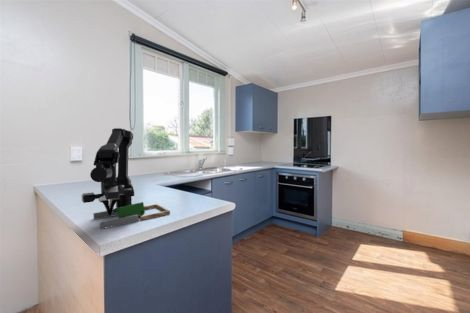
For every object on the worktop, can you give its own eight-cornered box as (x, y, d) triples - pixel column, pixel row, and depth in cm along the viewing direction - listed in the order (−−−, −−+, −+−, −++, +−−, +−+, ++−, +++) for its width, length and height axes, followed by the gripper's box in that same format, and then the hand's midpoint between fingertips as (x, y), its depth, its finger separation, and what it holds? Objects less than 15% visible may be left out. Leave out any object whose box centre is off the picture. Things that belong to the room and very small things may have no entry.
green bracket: (135, 223, 103) (139, 204, 107) (142, 223, 100) (146, 202, 104) (109, 220, 95) (114, 199, 98) (116, 219, 91) (121, 197, 95)
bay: (157, 206, 116) (157, 204, 116) (169, 213, 104) (169, 210, 104) (130, 211, 107) (130, 208, 107) (140, 220, 95) (140, 216, 95)
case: (128, 212, 107) (127, 207, 107) (138, 220, 95) (138, 214, 95) (93, 218, 98) (93, 213, 98) (100, 229, 86) (100, 222, 86)
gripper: (84, 183, 82) (85, 225, 82) (137, 178, 94) (138, 215, 94) (80, 179, 90) (82, 217, 91) (130, 175, 102) (131, 209, 103)
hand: (109, 215), depth 95 cm, fingers closed
